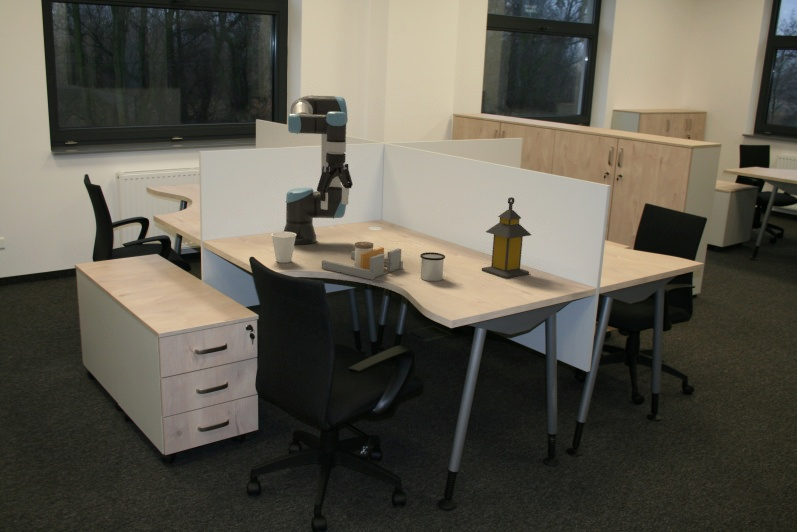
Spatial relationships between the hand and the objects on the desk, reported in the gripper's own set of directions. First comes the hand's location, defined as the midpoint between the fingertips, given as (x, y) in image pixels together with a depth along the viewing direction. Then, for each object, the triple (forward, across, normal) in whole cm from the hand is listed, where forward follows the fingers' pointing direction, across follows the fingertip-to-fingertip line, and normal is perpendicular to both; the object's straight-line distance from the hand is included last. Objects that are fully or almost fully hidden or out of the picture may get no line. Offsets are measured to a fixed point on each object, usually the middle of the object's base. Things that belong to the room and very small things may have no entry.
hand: (334, 206), depth 294 cm
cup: (+23, +12, -16) cm, 30 cm away
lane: (+22, 0, +14) cm, 27 cm away
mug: (+23, -6, +42) cm, 49 cm away
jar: (+22, 0, +15) cm, 27 cm away
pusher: (+22, 0, +23) cm, 31 cm away
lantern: (+23, -32, +61) cm, 72 cm away
